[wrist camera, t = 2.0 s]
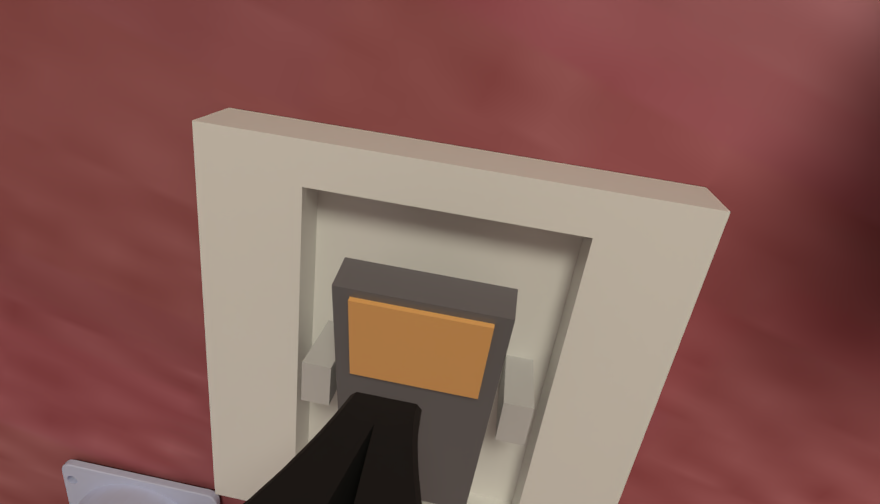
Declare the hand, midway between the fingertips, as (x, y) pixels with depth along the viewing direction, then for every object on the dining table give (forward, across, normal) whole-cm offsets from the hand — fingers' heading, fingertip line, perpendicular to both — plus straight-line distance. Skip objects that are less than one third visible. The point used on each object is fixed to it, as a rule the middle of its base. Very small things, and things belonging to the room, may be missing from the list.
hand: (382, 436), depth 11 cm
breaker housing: (+10, 0, +4) cm, 11 cm away
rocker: (+7, 0, +4) cm, 8 cm away
